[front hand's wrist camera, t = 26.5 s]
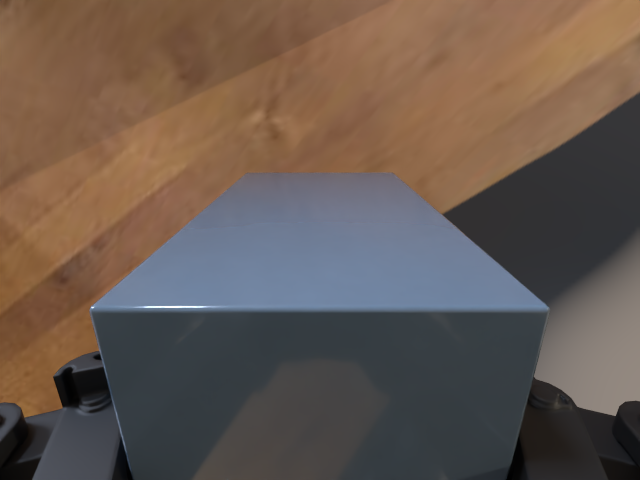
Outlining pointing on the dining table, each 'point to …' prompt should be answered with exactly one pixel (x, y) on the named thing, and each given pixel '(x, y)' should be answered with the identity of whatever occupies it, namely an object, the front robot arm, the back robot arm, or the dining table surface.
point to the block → (319, 340)
